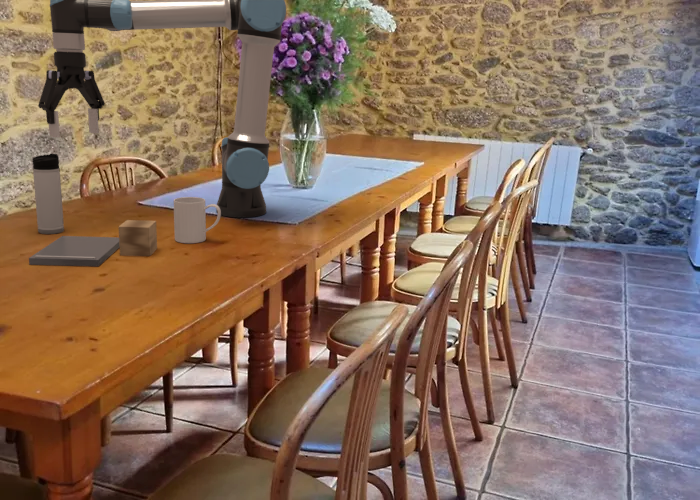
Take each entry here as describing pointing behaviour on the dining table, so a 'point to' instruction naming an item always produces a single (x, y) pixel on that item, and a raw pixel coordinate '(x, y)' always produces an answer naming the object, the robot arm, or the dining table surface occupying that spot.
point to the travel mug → (48, 194)
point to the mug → (191, 219)
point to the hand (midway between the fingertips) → (75, 135)
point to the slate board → (76, 251)
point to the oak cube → (137, 238)
